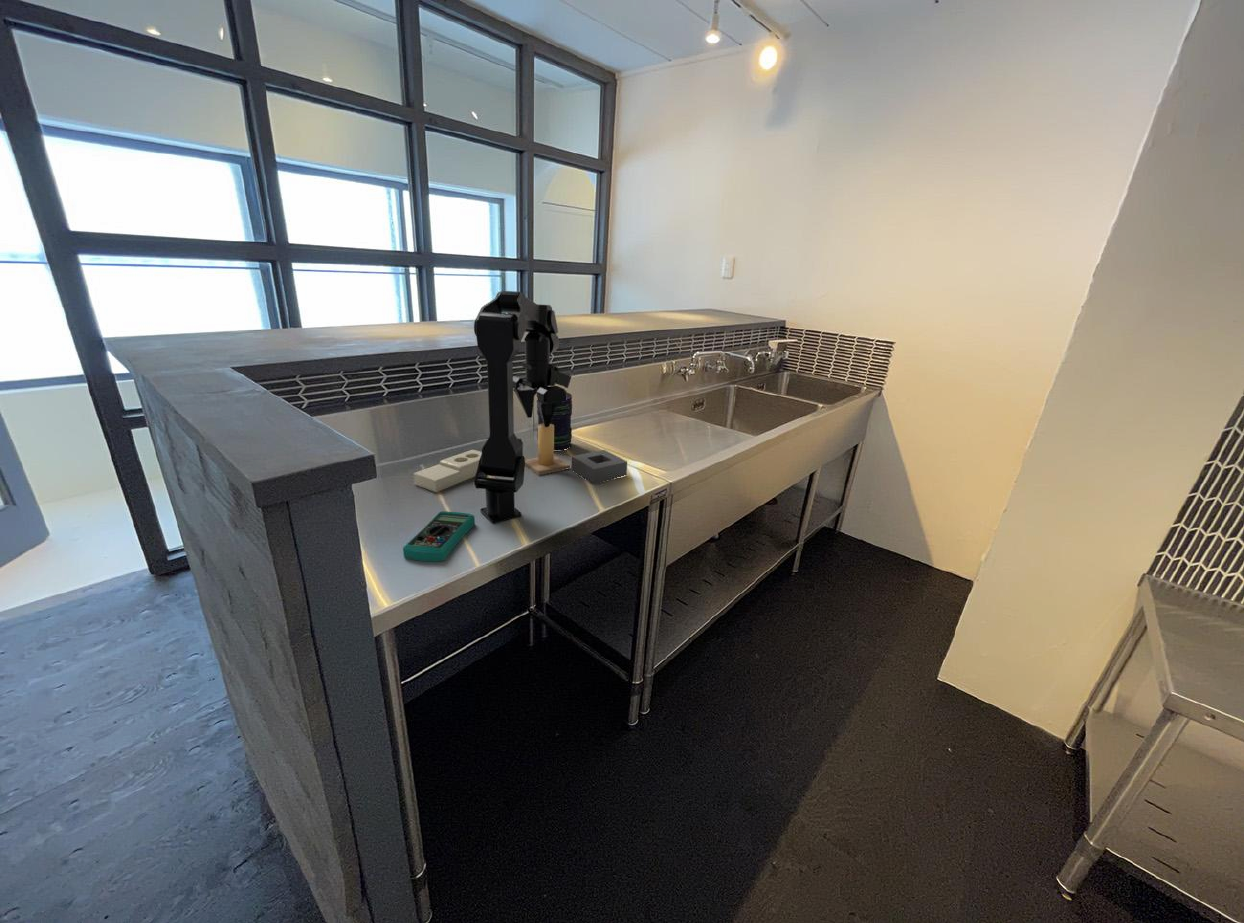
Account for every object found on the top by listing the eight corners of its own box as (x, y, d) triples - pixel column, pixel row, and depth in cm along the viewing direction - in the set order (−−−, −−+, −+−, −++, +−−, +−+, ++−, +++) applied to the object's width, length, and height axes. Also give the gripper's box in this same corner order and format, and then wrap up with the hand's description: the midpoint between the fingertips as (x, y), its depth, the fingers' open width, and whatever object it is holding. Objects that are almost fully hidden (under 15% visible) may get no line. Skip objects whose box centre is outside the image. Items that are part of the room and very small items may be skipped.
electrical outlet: (413, 469, 114) (472, 448, 129) (414, 485, 116) (473, 463, 130) (434, 476, 111) (493, 454, 126) (436, 493, 112) (494, 470, 127)
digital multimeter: (401, 561, 87) (399, 546, 86) (440, 521, 101) (439, 508, 100) (442, 566, 86) (440, 551, 85) (476, 525, 100) (475, 512, 99)
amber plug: (556, 463, 129) (556, 426, 126) (542, 466, 127) (542, 428, 124) (549, 459, 132) (549, 422, 129) (535, 461, 130) (535, 424, 127)
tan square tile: (569, 468, 129) (570, 465, 129) (538, 475, 124) (538, 471, 124) (552, 458, 136) (552, 454, 136) (522, 463, 131) (522, 460, 130)
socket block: (626, 476, 126) (627, 461, 125) (593, 484, 121) (593, 469, 119) (603, 464, 134) (604, 449, 132) (571, 471, 128) (571, 456, 127)
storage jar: (549, 454, 139) (550, 401, 134) (530, 444, 146) (529, 393, 140) (578, 447, 145) (579, 396, 140) (558, 438, 152) (558, 389, 147)
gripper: (587, 363, 118) (585, 427, 123) (548, 351, 132) (548, 409, 137) (544, 366, 111) (544, 433, 117) (508, 353, 125) (510, 414, 131)
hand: (538, 422), depth 126 cm, fingers open, 9 cm apart
